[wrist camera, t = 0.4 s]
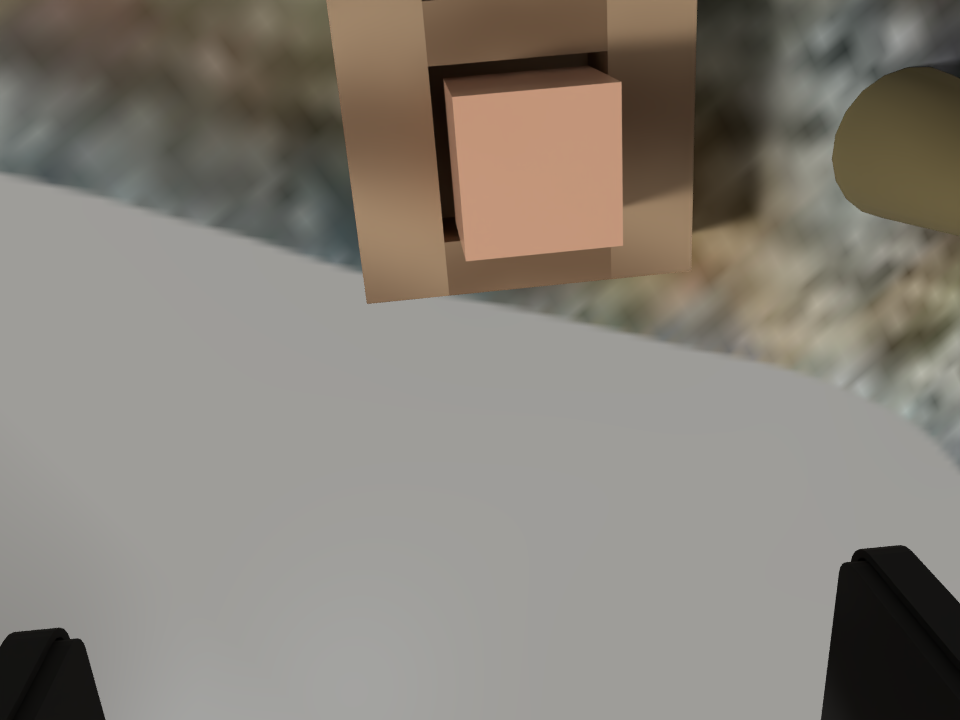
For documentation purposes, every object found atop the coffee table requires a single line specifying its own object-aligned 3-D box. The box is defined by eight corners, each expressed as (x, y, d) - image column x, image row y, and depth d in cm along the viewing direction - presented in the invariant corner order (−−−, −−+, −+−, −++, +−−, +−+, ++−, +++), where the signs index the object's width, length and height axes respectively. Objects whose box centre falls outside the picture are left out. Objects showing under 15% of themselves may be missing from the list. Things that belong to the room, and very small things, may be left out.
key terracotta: (442, 78, 31) (452, 97, 26) (588, 65, 31) (621, 81, 26) (455, 221, 33) (465, 261, 28) (592, 208, 33) (622, 245, 29)
